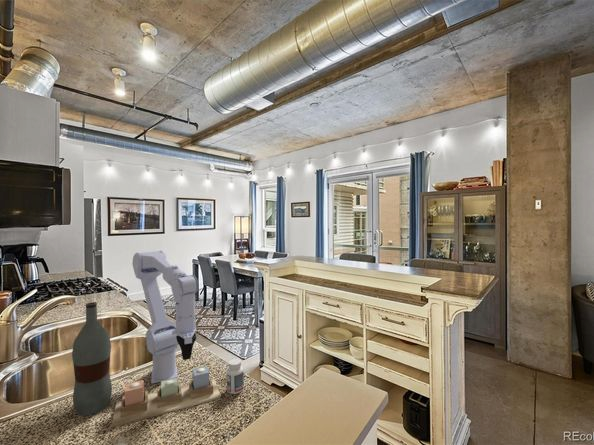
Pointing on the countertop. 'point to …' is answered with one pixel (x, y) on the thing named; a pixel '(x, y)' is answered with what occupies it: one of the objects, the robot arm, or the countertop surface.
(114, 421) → the birch board
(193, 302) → the robot arm
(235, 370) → the pill bottle
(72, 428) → the countertop surface
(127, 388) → the terracotta block
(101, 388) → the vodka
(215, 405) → the countertop surface
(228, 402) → the countertop surface
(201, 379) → the slate-blue block
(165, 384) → the sage block
